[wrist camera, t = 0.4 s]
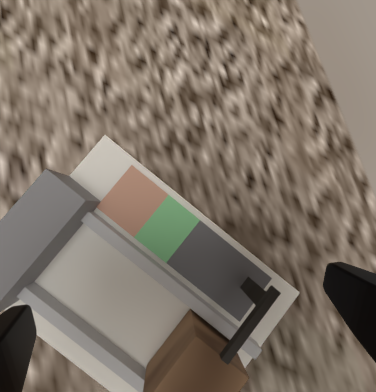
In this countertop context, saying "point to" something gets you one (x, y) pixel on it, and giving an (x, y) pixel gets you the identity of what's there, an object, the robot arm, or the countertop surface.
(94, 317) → the gauge base
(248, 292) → the slider
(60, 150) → the countertop surface
